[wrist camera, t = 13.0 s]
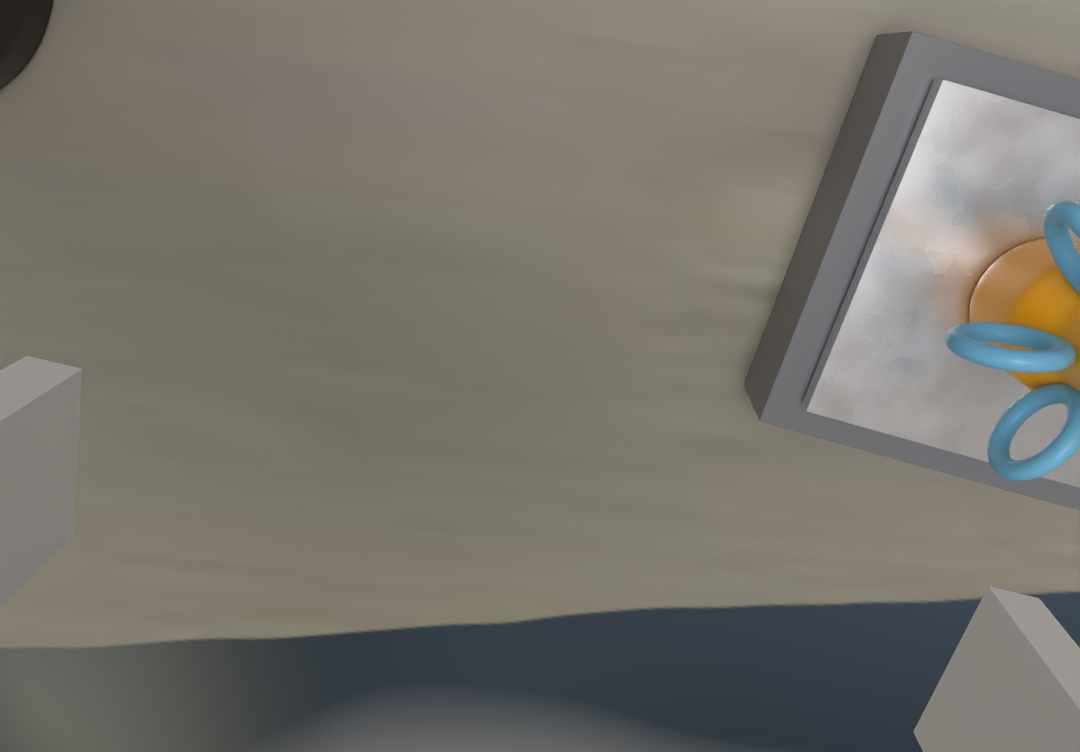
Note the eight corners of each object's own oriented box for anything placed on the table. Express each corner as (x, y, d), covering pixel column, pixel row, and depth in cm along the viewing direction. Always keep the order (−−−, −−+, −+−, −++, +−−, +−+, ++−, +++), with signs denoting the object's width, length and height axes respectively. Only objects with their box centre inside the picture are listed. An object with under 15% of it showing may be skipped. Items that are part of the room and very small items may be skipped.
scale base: (744, 384, 46) (759, 420, 41) (876, 35, 40) (912, 31, 35) (1078, 478, 47) (1131, 525, 42) (1262, 147, 40) (1347, 158, 36)
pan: (785, 374, 45) (806, 411, 40) (903, 77, 39) (943, 79, 35) (1061, 452, 45) (1114, 497, 40) (1214, 167, 40) (1296, 181, 35)
